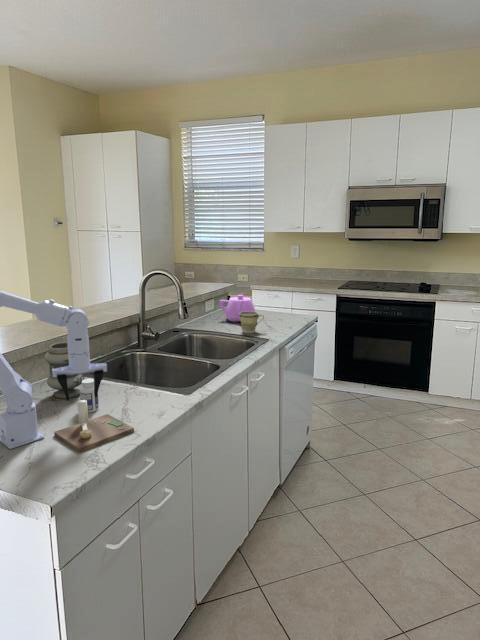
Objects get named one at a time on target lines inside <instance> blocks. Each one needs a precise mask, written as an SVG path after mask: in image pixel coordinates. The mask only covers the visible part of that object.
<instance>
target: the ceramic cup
mask: <svg viewBox="0 0 480 640" xmlns="http://www.w3.org/2000/svg"><path fill="white" fill-rule="evenodd" d="M239 314H240V320H241V321H240V324H241V330H242V333H245V334H254V333H255V332H256V328H257V326H258V324H260V323H261V322H262V321H263V320H264V319H265V317H264V315H263V314H259V312H256V311H255V312H251V311H246V312H240V313H239ZM259 317H263V318H262V319H260V320H259V321H258V319H259Z"/></svg>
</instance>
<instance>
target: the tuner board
mask: <svg viewBox="0 0 480 640" xmlns="http://www.w3.org/2000/svg"><path fill="white" fill-rule="evenodd" d="M86 424H87V429H88V430H91V431H92V436H91V437H90V438H87V439H82V438H80V432H81V431H83V429H82V423H80V422H79V423H77V424H73V425H70V426H68V427H64V428H60V429H59V430H55V431H54V433H53V434H54V437H55V438H57V439H59V440H60V441H61V442H64V443H65V444H66V445H68V446H69V447H71V448H72V449H74V450H75V451H76V452H78V453H82V452H84V451H87V450H90V449H92V448H95V447H99V446H101V445H103V444H106V443H109V442H111V441H113V440H115V439H119V438H122V437H124V436H127V435H129V434H132V433H134V432H135V427H133V426H131V425H129V424H127V423H125V422H124V421H121V420H120V419H117V417H114V416H112V415H110V414H108V413H107V414H103V415H101V416H100V415H99V416H97V417H94V418H92V419H88V422H86Z"/></svg>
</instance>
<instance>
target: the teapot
mask: <svg viewBox="0 0 480 640" xmlns="http://www.w3.org/2000/svg"><path fill="white" fill-rule="evenodd" d="M236 296H237V297H236ZM236 296H235V297H230V298H229V300H227V299H220V300H219V302H218V303H219V306H220V308H221V309H222V310H223V311H224V312H225V317H226V318H227V320H228V321H230V322H233V323H237V322H241V320H240V314H239V313H240V312H246V311H251V312H256V311H255V306H254V303H253V301H252V298H250V297H245V296H244V294H237V295H236ZM224 303H226V308H225V305H224Z"/></svg>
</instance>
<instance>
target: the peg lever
mask: <svg viewBox="0 0 480 640" xmlns="http://www.w3.org/2000/svg"><path fill="white" fill-rule="evenodd" d="M77 412H78V416H77V417H78V422H79V423H82V429H83V431H81V432H80V438H82V439H87V438H90V437H91V436H92V431H91V430H88V429H87V424H86V422H88V420H89V413H88V409H87V400H78V401H77Z"/></svg>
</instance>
